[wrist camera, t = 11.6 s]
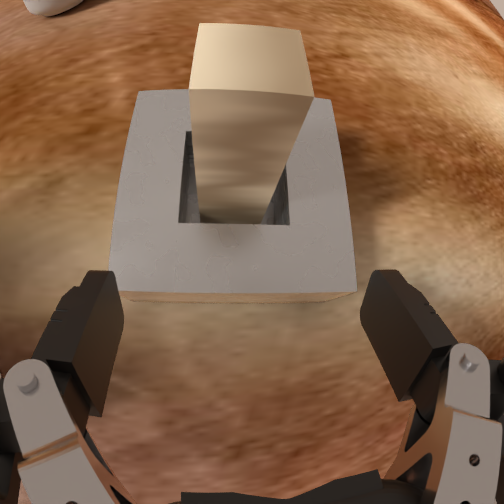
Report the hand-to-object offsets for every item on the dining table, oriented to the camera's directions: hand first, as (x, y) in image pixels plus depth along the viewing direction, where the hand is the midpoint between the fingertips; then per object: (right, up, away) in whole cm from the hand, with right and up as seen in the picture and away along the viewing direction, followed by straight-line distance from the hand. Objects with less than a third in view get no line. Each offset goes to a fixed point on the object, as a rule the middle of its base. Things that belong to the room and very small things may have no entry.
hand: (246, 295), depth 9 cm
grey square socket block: (-1, +4, +11) cm, 12 cm away
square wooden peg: (-1, +4, +10) cm, 11 cm away
